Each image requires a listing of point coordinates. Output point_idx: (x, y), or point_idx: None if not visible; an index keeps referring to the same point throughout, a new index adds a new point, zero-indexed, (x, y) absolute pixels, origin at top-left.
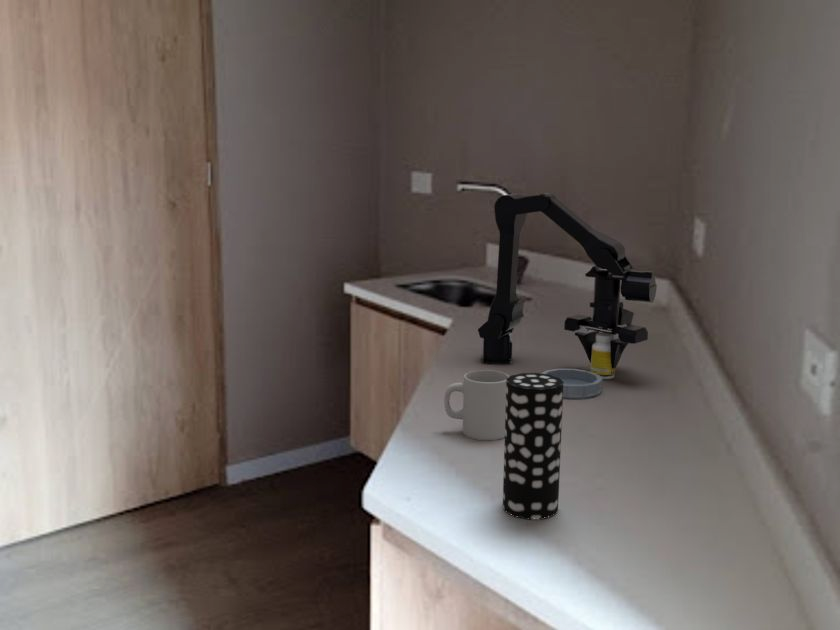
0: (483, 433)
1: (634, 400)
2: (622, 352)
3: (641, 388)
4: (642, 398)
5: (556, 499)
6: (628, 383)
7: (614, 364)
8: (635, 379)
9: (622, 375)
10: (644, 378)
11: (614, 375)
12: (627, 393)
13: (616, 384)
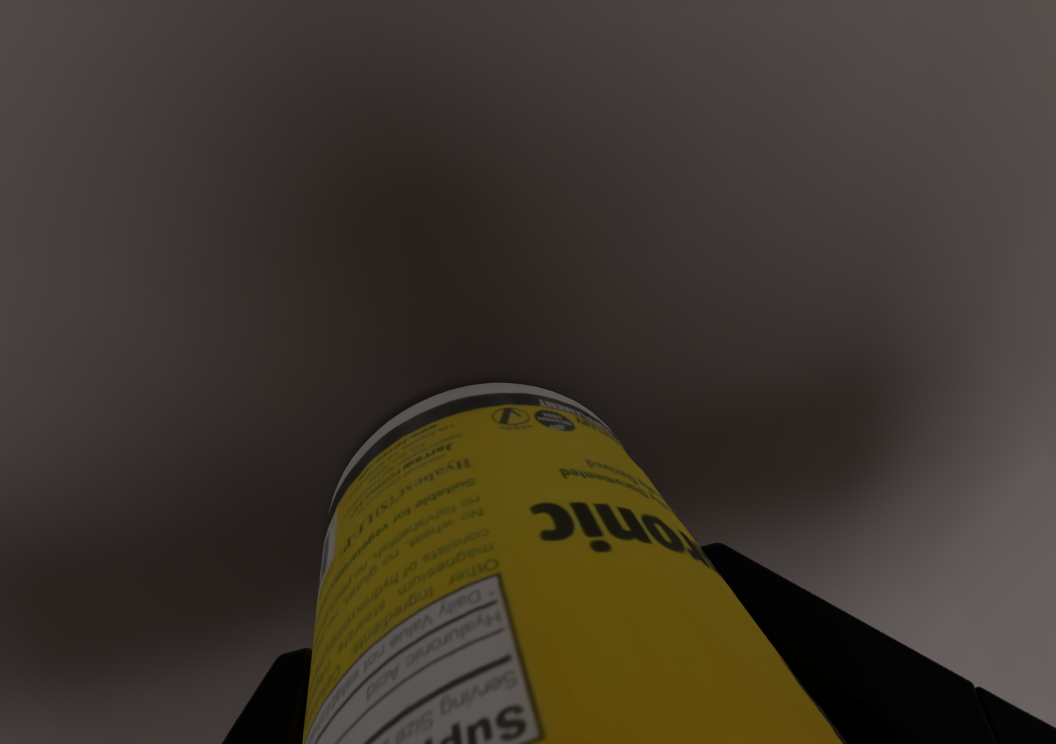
0: None
1: (1017, 667)
2: (1034, 726)
3: (981, 448)
4: (1052, 603)
5: None
6: (826, 440)
7: None
8: (822, 259)
9: (613, 258)
10: (892, 117)
11: (614, 434)
12: (929, 622)
13: (754, 554)
